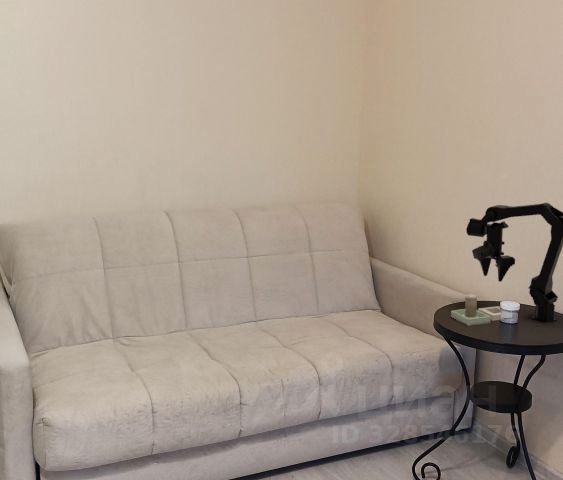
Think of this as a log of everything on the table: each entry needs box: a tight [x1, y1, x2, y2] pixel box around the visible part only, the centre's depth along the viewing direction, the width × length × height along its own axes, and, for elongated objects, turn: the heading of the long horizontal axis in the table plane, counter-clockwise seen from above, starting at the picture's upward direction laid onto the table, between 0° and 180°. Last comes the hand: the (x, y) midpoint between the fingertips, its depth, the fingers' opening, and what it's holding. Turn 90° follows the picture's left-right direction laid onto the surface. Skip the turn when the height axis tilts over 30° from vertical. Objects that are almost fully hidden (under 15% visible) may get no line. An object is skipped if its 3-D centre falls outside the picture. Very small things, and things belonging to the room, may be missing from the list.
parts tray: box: [450, 308, 491, 327], centre depth 251 cm, size 11×9×2 cm
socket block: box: [477, 305, 502, 322], centre depth 255 cm, size 9×9×2 cm
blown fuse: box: [464, 293, 478, 319], centre depth 250 cm, size 4×4×9 cm
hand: (492, 278), depth 262 cm, fingers open, 9 cm apart
